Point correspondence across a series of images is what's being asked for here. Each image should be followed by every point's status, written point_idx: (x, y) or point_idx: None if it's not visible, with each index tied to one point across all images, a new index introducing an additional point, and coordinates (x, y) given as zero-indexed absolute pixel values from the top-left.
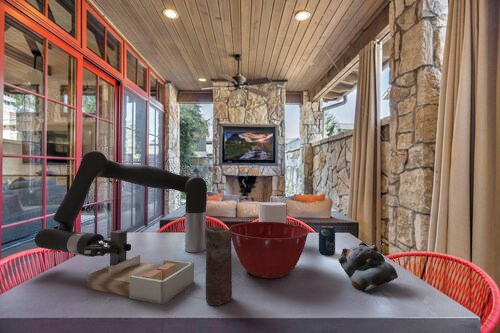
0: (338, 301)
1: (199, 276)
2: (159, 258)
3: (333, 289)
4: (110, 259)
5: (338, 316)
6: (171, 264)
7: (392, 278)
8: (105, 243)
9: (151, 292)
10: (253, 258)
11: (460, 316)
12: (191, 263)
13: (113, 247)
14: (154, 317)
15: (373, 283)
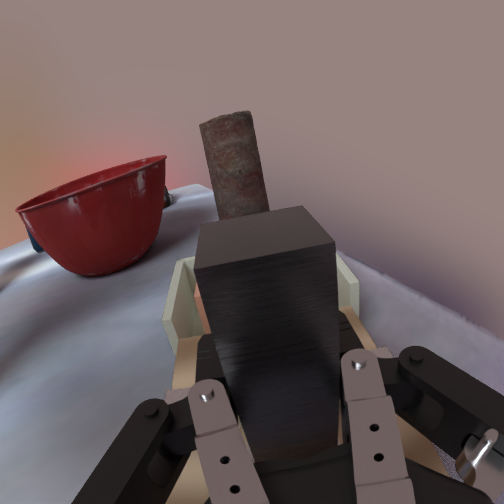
0: (198, 206)
1: (155, 313)
2: (5, 493)
3: (168, 214)
4: (336, 438)
5: None
6: None
7: None
8: (364, 405)
9: None
10: (160, 204)
11: (197, 184)
12: (182, 260)
13: (339, 334)
14: (362, 263)
15: (168, 193)
